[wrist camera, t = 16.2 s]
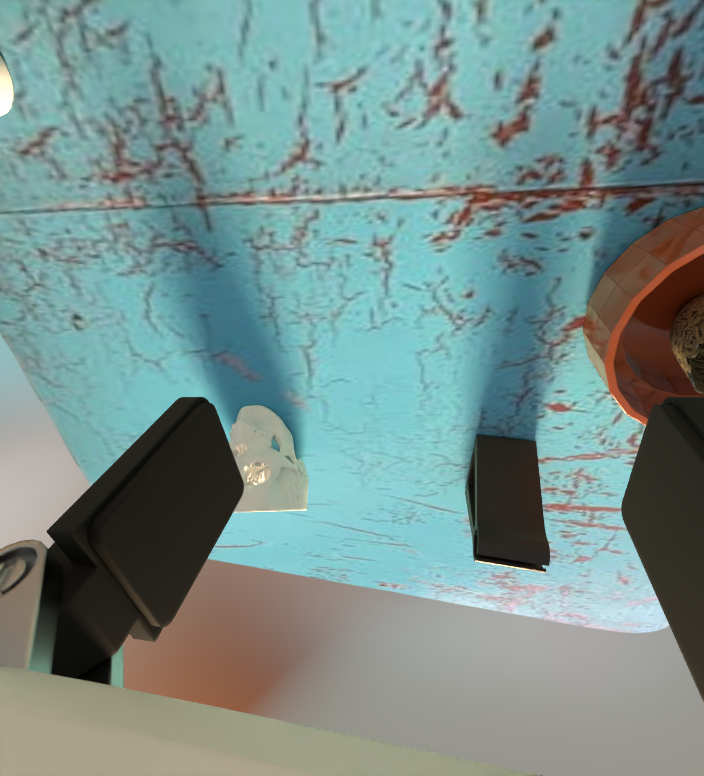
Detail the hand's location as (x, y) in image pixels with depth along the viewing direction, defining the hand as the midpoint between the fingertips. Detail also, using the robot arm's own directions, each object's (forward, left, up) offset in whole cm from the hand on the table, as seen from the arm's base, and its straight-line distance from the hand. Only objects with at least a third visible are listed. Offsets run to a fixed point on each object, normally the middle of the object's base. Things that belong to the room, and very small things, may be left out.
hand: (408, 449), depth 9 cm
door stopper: (+27, +6, -28) cm, 40 cm away
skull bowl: (+26, -21, -28) cm, 44 cm away
